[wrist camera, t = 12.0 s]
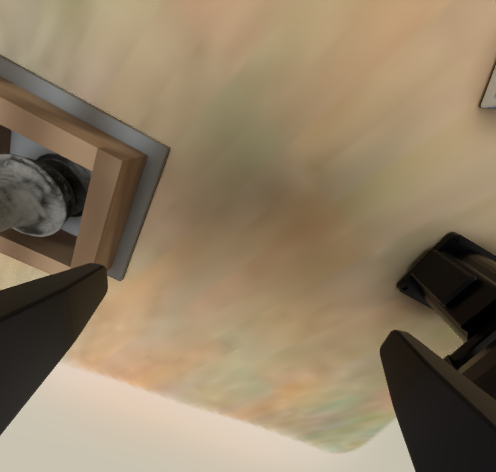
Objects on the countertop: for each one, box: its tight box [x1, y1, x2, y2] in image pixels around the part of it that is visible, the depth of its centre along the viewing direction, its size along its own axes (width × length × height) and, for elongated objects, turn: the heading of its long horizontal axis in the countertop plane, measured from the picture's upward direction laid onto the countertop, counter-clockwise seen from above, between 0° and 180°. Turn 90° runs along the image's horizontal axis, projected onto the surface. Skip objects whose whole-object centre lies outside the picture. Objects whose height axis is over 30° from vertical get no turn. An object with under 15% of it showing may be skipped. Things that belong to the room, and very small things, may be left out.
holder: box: [0, 55, 170, 281], centre depth 18 cm, size 14×14×4 cm
